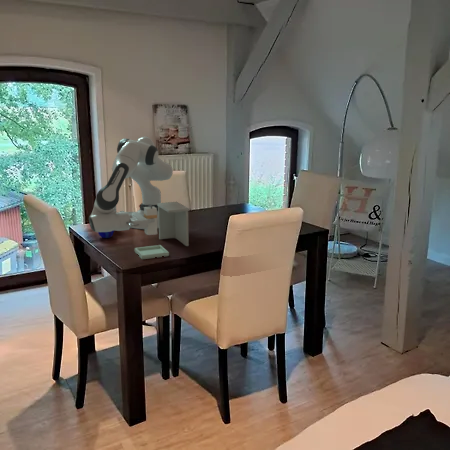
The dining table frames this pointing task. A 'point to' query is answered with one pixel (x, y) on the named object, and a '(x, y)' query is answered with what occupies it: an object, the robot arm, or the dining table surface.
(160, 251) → the tray
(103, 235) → the ornament
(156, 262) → the dining table surface
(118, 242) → the dining table surface
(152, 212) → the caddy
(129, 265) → the dining table surface
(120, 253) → the dining table surface
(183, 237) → the bay
